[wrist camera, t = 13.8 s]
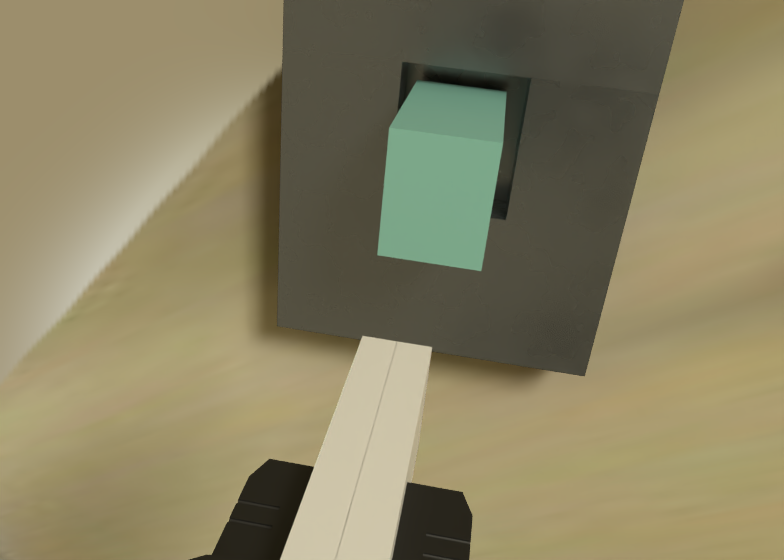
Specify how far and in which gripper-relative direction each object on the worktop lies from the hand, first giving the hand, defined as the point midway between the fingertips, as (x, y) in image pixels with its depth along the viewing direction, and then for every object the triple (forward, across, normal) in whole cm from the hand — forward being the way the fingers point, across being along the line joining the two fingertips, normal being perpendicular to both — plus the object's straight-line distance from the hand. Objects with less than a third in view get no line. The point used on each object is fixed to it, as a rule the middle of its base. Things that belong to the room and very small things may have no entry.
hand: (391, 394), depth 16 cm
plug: (+21, 0, 0) cm, 21 cm away
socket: (+22, 0, 0) cm, 22 cm away
